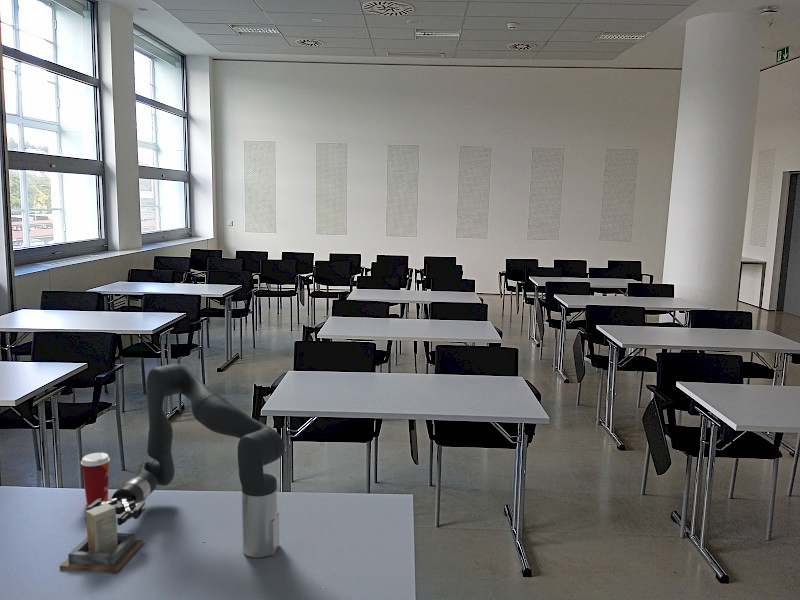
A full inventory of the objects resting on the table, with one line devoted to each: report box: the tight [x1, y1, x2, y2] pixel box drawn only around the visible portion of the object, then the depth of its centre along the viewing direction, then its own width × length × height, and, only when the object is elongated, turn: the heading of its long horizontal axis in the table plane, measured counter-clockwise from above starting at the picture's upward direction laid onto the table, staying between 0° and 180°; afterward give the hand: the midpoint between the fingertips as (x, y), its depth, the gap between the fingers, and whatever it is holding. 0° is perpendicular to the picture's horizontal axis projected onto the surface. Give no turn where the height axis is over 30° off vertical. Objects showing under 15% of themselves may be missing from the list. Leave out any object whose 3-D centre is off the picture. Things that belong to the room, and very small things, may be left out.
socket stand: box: [59, 532, 145, 574], centre depth 176 cm, size 15×15×4 cm
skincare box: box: [85, 503, 118, 553], centre depth 176 cm, size 6×4×12 cm
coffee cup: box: [80, 452, 111, 507], centre depth 206 cm, size 8×8×15 cm
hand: (103, 521), depth 176 cm, fingers open, 8 cm apart
